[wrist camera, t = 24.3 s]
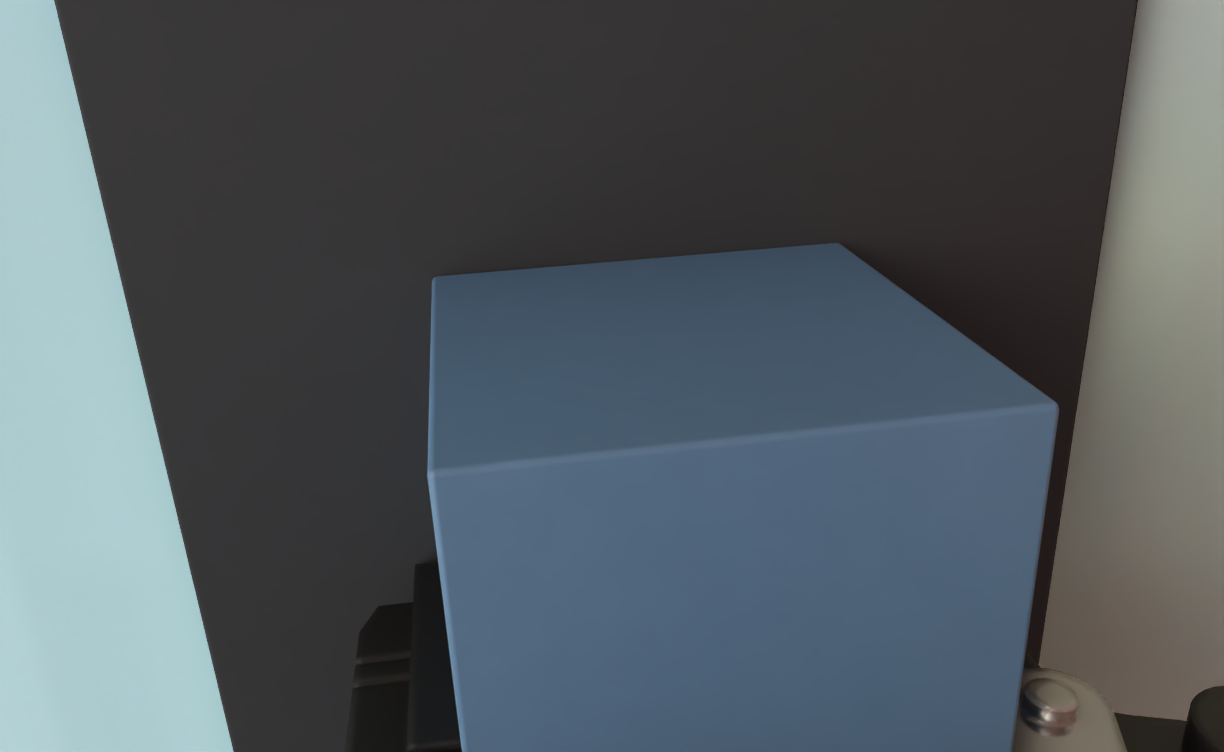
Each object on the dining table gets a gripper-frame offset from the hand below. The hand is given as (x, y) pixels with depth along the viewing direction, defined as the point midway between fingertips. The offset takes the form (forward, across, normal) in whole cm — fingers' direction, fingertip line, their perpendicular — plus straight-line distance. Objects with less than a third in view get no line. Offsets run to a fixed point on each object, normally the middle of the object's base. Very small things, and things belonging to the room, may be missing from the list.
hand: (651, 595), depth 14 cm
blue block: (-3, 0, +7) cm, 8 cm away
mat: (0, 0, -1) cm, 1 cm away
